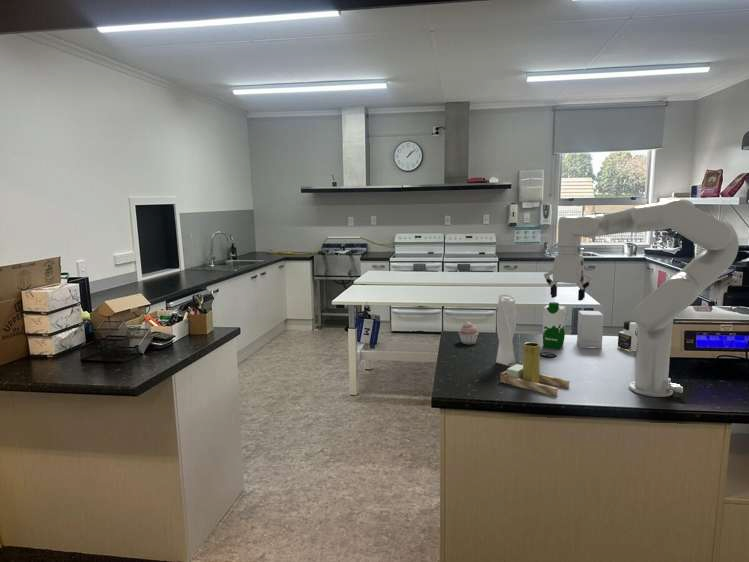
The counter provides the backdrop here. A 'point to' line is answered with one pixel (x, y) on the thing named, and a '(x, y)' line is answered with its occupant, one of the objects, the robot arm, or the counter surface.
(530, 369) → the vase
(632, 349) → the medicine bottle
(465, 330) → the cupcake
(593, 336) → the supplement box
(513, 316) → the skyscraper
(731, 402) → the counter surface
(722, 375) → the counter surface
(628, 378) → the counter surface
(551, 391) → the track
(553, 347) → the milk carton
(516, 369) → the block
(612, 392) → the counter surface
